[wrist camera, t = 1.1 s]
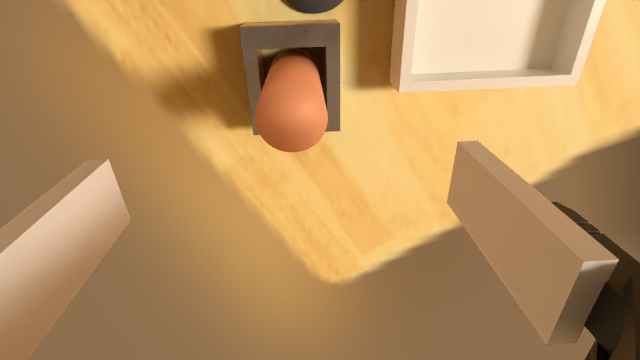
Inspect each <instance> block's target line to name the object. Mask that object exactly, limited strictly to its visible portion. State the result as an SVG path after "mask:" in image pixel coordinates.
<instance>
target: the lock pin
mask: <svg viewBox="0 0 640 360" xmlns="http://www.w3.org/2000/svg"><path fill="white" fill-rule="evenodd" d="M255 123H256V127H257V130H258V132H259V134H260V135H261V137H262V138H263V139H264V140H265V141H266V142H267V143H268V144H269V145H271V146H272V147H274V148H276V149H278V150H281V151H285V152H299V151H303V150H306V149H308V148H310V147H312V146H313V145H315V144H316V143H317V142H318V141H319V140H320V139H321V137H322V136H323V134H324V132H325V130H326V127H327V123H328V113H327V108H326V104H325V99H324V95H323V90H322V86H321V81H320V77H319V72H318V68H317V65H316V62H315V61H314V59H313V58H312V57H311V55H309V54H308V53H307V52H305V51H303V50H300V49H287V50H284V51H282V52H280V53H279V54H278V55H277V56H276V57H275V58H274V60H273V61H272V64H271V66H270V69H269V72H268V75H267V78H266V80H265V83H264V86H263V89H262V92H261V94H260V97H259V100H258V103H257V106H256V109H255Z"/></svg>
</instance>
